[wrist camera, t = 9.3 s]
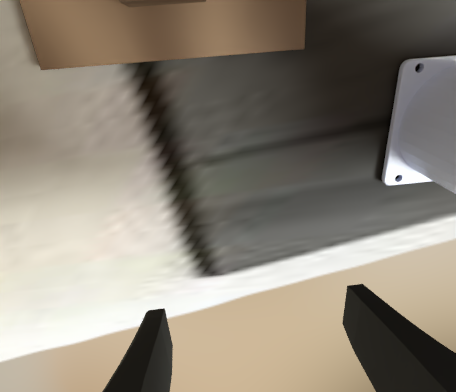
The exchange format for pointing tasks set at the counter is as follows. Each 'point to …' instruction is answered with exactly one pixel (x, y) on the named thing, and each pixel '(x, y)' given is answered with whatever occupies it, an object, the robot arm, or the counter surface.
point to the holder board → (159, 29)
